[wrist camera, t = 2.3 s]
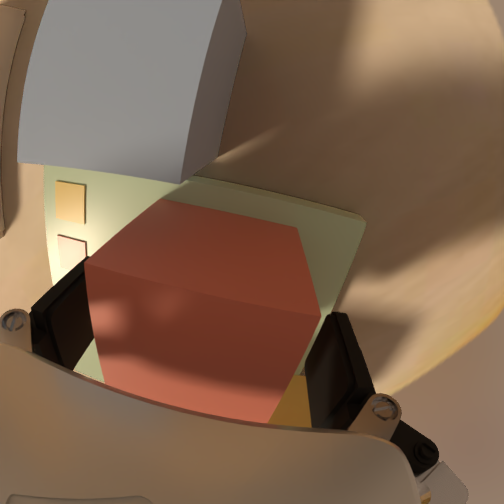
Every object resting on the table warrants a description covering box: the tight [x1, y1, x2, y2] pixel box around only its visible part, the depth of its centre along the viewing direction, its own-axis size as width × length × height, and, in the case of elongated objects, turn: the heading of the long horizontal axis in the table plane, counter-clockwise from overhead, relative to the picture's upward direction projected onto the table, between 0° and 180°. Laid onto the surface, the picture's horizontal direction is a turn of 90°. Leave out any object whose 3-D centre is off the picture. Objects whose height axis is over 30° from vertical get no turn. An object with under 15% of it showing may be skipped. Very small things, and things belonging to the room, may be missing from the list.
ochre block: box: [267, 375, 312, 428], centre depth 14 cm, size 6×6×6 cm
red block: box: [84, 199, 322, 423], centre depth 10 cm, size 6×6×6 cm
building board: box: [44, 165, 367, 382], centre depth 15 cm, size 16×16×1 cm
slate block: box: [17, 0, 247, 185], centre depth 8 cm, size 6×6×6 cm
